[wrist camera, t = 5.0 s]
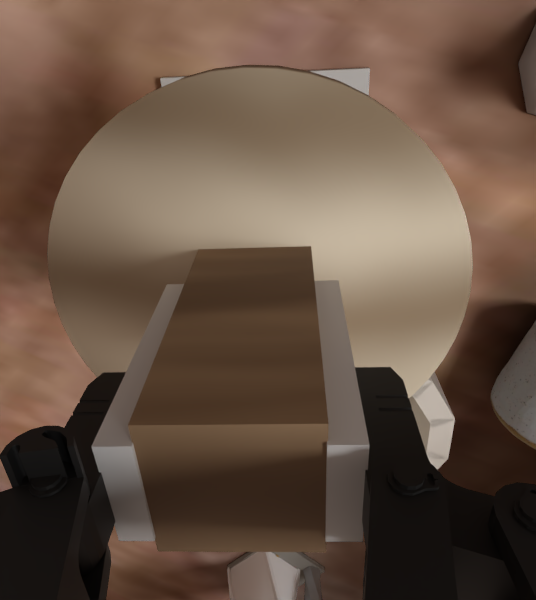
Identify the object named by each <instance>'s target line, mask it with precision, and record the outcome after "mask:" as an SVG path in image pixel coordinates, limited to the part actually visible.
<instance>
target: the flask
mask: <svg viewBox="0 0 536 600" xmlns="http://www.w3.org/2000/svg"><path fill="white" fill-rule="evenodd" d="M518 65H519V71H520V77H521V82H522V88H523V93H524V99H525V105H526V110H527V113H530V114H533V115H536V24H535V26H534V28H533V31H532V33H531V35H530V38H529V40H528V42H527V44H526V47H525V49H524V51H523V54H522V56H521V58H520V60H519V63H518Z"/></svg>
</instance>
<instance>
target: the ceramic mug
mask: <svg viewBox="0 0 536 600" xmlns="http://www.w3.org/2000/svg"><path fill="white" fill-rule="evenodd" d="M490 401H491V405H492V407H493V410H494V412H495V414H496V416H497V417H498V419H499V420H500V421H501V423H502V424H503V425H504V426H505V427H506V428H507V429H508V430H509V431H510V432H511V433H512V434H513V435H514V436H515V437H517V438H518V439H520V440H521V441H522V442H524V443H525V444H527V445H529V446H530V447H532V448H534V449H536V321H535V322H534V324H533V326H532V327H531V328H530V330H529V331H528V333H527V334H526V335H525V337H524V338H523V340H522V341H521V343H520V344H519V346H518V348H517V349H516V351H515V352H514V354H513V355H512V357H511V358H510V360H509V361H508V363H507V364H506V365H505V367H504V368H503V369H502V371H501V372H500V374H499V376H498V377H497V379H496V381H495V384H494V386H493V388H492V391H491V395H490Z"/></svg>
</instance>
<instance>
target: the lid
mask: <svg viewBox="0 0 536 600" xmlns="http://www.w3.org/2000/svg"><path fill="white" fill-rule="evenodd" d="M47 258H48V272H49V281H50V285H51V290H52V294H53V299H54V303H55V306H56V308H57V311H58V314H59V317H60V319H61V322H62V325H63V327H64V329H65V331H66V333H67V334H68V336H69V338H70V340H71V342H72V344H73V346H74V347H75V349H76V350H77V352H78V353H79V355H80V356H81V358H82V359H83V361H84V362H85V363H86V365H87V366H88V367H89V368H90V369H91V371H92V372H93V373H94V374H95V375H96V376H97V377H98V376H100V375H101V374H102V373H103V372H126V371H127V369H128V367H129V365H130V363H131V360H132V358H133V356H134V354H135V352H136V350H137V348H138V345H139V343H140V341H141V339H142V337H143V335H144V332H145V330H146V328H147V326H148V324H149V322H150V320H151V317H152V315H153V313H154V311H155V309H156V307H157V305H158V302H159V300H160V298H161V296H162V294H163V292H164V290H165V287H166V285H167V284H184V286H183V289H182V291H181V294H180V296H179V299H178V301H177V304H176V306H175V309H174V311H173V314H172V316H171V319H170V321H169V324H168V326H167V329H166V331H165V334H164V336H163V339H162V341H161V344H160V346H159V349H158V351H157V354H156V356H155V359H154V361H153V364H152V366H151V369H150V371H149V374H148V376H147V379H146V381H145V384H144V386H143V389H142V391H141V394H140V396H139V399H138V401H137V404H136V406H135V409H134V411H133V414H132V416H131V419H130V421H129V424H128V428H129V432H130V437H131V441H132V443H133V445H134V449H135V453H136V457H137V462H138V466H139V470H140V474H141V478H142V482H143V487H144V491H145V495H146V499H147V503H148V507H149V512H150V516H151V520H152V524H153V528H154V532H155V541H156V545H157V549H158V551H188V552H326V539H325V532H326V465H327V441H328V425H329V424H328V414H327V403H326V393H325V383H324V373H323V363H322V352H321V342H320V332H319V322H318V312H317V301H316V291H315V281H325V280H338V281H339V286H340V292H341V297H342V302H343V307H344V313H345V318H346V323H347V329H348V334H349V339H350V344H351V350H352V355H353V360H354V365H355V367H391V368H392V369H393V370H394V371H395V372H396V373H397V374H398V375H399V376H400V377H401V378H402V379H403V381H404V384H405V388H406V391H407V394H408V398H410V397H411V396H412V395H413V394H414V393H415V392H416V391H417V390H418V389H419V388H420V387H421V386H422V385H423V384H424V383H425V382H426V381H427V380H428V379H429V378H430V377H431V375H432V374H433V373H434V371H435V370H436V369H437V368H438V366H439V365H440V364H441V362H442V361H443V360H444V358H445V356H446V354H447V353H448V351H449V349H450V347H451V346H452V344H453V342H454V340H455V339H456V336H457V334H458V331H459V329H460V326H461V324H462V321H463V319H464V316H465V312H466V308H467V304H468V300H469V296H470V290H471V280H472V269H473V265H472V247H471V238H470V233H469V229H468V224H467V219H466V215H465V212H464V209H463V207H462V204H461V202H460V199H459V196H458V194H457V191H456V189H455V187H454V185H453V183H452V182H451V180H450V178H449V176H448V174H447V173H446V171H445V169H444V167H443V166H442V164H441V163H440V161H439V160H438V159H437V157H436V156H435V155H434V154H433V152H432V151H431V150H430V149H429V147H428V146H427V145H426V144H425V142H424V141H423V140H422V139H421V138H420V137H419V136H418V135H417V134H416V133H415V132H414V131H413V130H412V129H410V128H409V127H408V126H407V125H406V124H405V123H404V122H403V121H402V120H401V119H400V118H399V117H397V116H396V115H395V114H394V113H393V112H392V111H390V110H389V109H387V108H386V107H384V106H383V105H382V104H380V103H379V102H377V101H376V100H374V99H373V98H371V97H370V96H369V95H367V94H365V93H363V92H361V91H359V90H357V89H355V88H353V87H351V86H349V85H347V84H345V83H343V82H341V81H338V80H335V79H332V78H329V77H326V76H323V75H320V74H317V73H314V72H311V71H306V70H300V69H294V68H289V67H283V66H269V65H242V66H233V67H225V68H216V69H212V70H208V71H205V72H201V73H197V74H194V75H190V76H186V77H184V78H181V79H179V80H177V81H175V82H172V83H170V84H168V85H165V86H163V87H161V88H159V89H157V90H155V91H153V92H151V93H149V94H147V95H145V96H144V97H142V98H141V99H139V100H137V101H136V102H134V103H133V104H131V105H129V106H128V107H126V108H125V109H123V110H122V111H120V112H119V113H118V114H117V115H116V116H115V117H113V118H112V119H111V120H110V121H109V122H108V123H107V124H105V125H104V126H103V127H102V128H101V129H100V130H99V131H98V132H97V133H96V134H95V135H94V137H93V138H92V139H91V140H90V141H89V142H88V144H87V145H86V146H85V147H84V148H83V150H82V151H81V152H80V153H79V155H78V157H77V158H76V160H75V162H74V163H73V165H72V167H71V168H70V170H69V172H68V173H67V175H66V177H65V179H64V181H63V184H62V186H61V189H60V191H59V194H58V196H57V199H56V201H55V205H54V209H53V213H52V218H51V222H50V226H49V236H48V249H47Z"/></svg>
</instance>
